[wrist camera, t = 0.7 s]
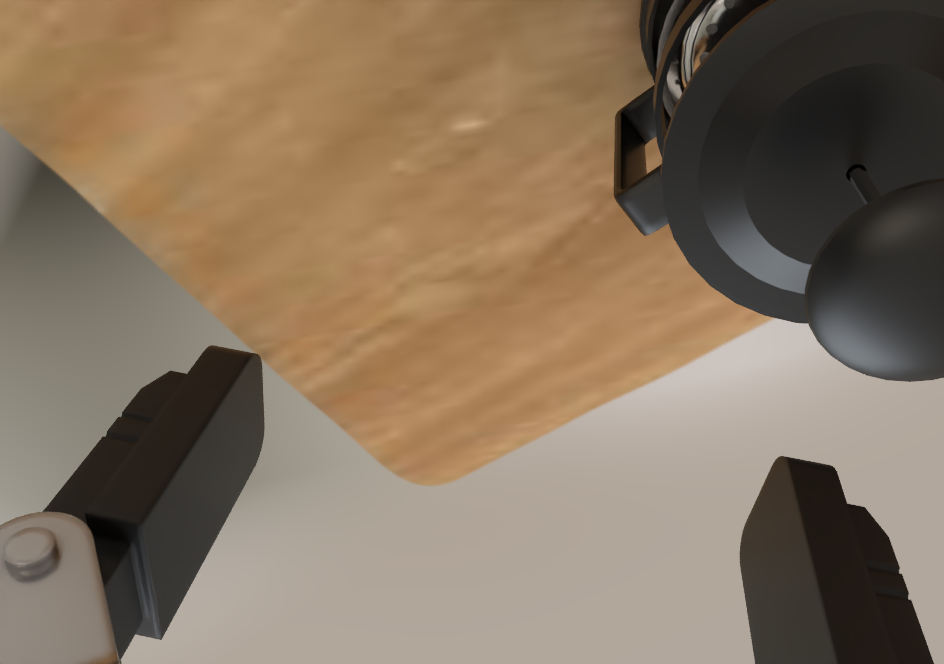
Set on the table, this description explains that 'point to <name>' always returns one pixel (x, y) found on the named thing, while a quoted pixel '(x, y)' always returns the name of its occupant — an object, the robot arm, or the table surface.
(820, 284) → the french press
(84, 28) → the table surface
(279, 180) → the table surface
